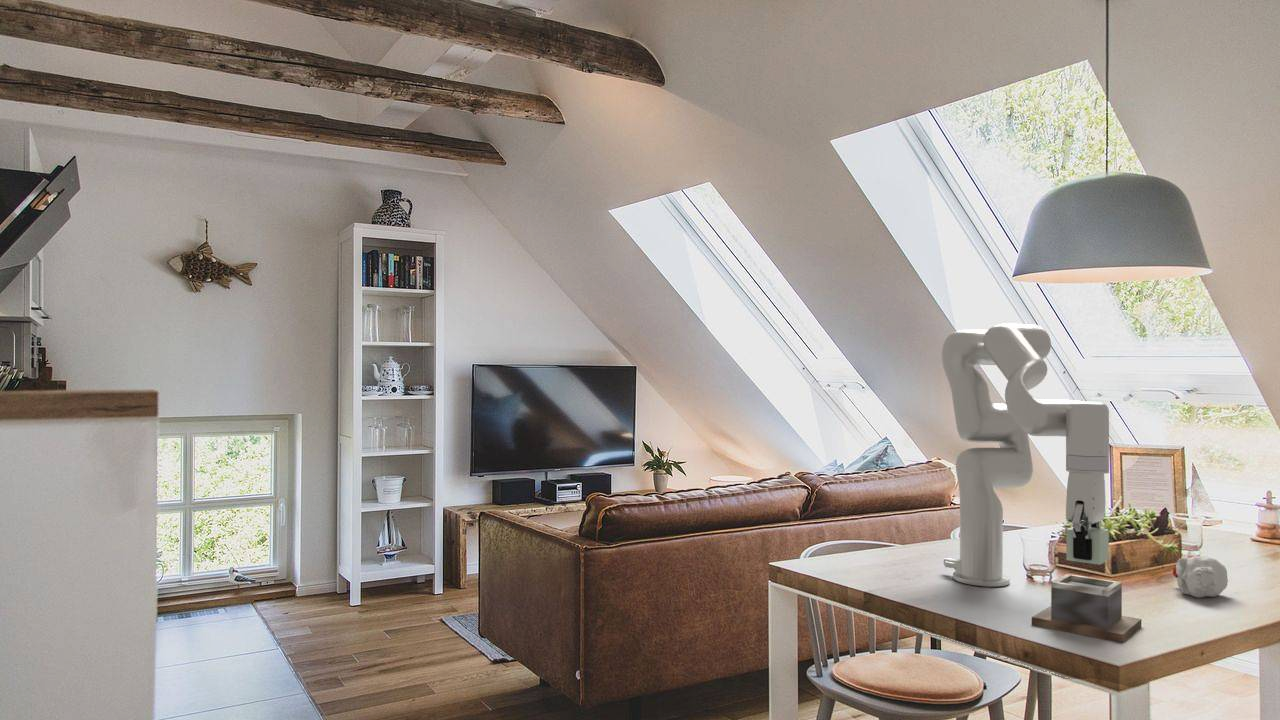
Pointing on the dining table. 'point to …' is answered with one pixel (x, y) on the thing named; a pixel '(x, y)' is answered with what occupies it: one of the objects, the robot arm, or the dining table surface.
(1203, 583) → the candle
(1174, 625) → the dining table surface
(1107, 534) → the sage block
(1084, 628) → the pillar base
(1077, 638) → the dining table surface
